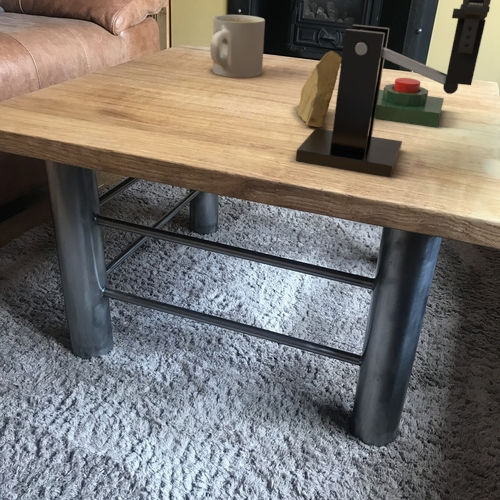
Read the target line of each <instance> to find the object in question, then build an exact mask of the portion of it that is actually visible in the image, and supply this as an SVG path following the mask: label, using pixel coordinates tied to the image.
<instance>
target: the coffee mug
mask: <svg viewBox="0 0 500 500" xmlns="http://www.w3.org/2000/svg"><path fill="white" fill-rule="evenodd" d="M212 19H213V20H212V21H213V22H212V23H213V24H212V36H211V40H210V48H209V49H210V50H209V51H210V57H211V60H212V72H213V73H214V74H216V75H218V76H223V77H226V78H227V77H228V78H236V79H237V78H240V79H241V78H245V79H246V78H254V77H260V76H261V75H262V74H263V64H264V45H265V27H266V26H265V25H266V20H265V18H263V17H259V16H255V15H245V14H220V15H215V16H213V18H212Z"/></svg>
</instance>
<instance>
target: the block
mask: <svg viewBox="0 0 500 500" xmlns="http://www.w3.org/2000/svg"><path fill="white" fill-rule="evenodd" d="M429 92H430V91H429V89H427V88H425V87H422V86H420V88H419V92H418V93H406V92H399V91H396V90H394V83H390V84H385V86H384V87H383V89H380V90H379V96H378V103H377V109H376V115H375V119H378V120H385V121H392V122H397V123H406V124H412V125H419V126H424V127H425V126H426V127H433V128H438V125H439V121H440V117H441V113H442V108H443V105H444V98H445V97H439V96H431V95H429Z"/></svg>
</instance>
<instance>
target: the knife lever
mask: <svg viewBox="0 0 500 500" xmlns="http://www.w3.org/2000/svg"><path fill="white" fill-rule="evenodd" d="M381 58H383V59H384V60H386V61H389V62H390V63H393V64H394V65H397V66H399V67H402V68H404V69H406V70H408V71H411V72H413V73H415V74H418V75H420V76H423V77H425V78H427V79H429V80H432V81H434V82H437V83H438V84H441V85H443V87H442V88H443V91H444V92H445V93H446V94H448V95H453V94H455V93H456V92H457V91H458V88H459V84H453V83H445V81H446V76H447V73H445V72H442V71H440V70H438V69H435V68H433V67H430V66H428V65H426V64H424V63H422V62H419V61H417V60H414V59H412V58H410V57H408V56H405V55H403V54H401V53H398V52H396V51H394V50H392V49H390V48H388V47H386V48H385V47H382V54H381Z"/></svg>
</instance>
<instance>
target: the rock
mask: <svg viewBox="0 0 500 500" xmlns="http://www.w3.org/2000/svg"><path fill="white" fill-rule="evenodd" d="M319 60H320V61H318V63H317V64H316V65H315V67H314V68H313V69H312V70H311V73H310V75H309V77H308V78H306V81H305V82H304V85H303V86H302V88H301V91H300V100H299V103H298V105H297V109H296V111H295V113H296V114H297V116H298V117H299V118H301V120H302V121H303V122H305V125H306V126H308V127H314V128H320V129H322V128H323V125H324V123H325V118H326V117H327V115H328V113H329V107H330V103H331V100H332V97H333V93H334V90H335V86H336V83H337V79H338V75H339V72H340V69H341V61H342V56H341V55H340V54H338V53H337V52H336V51H334V50H330V51H328V52H326V53H325V54H324V55H323V57H322V58H321V59H319Z"/></svg>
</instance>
